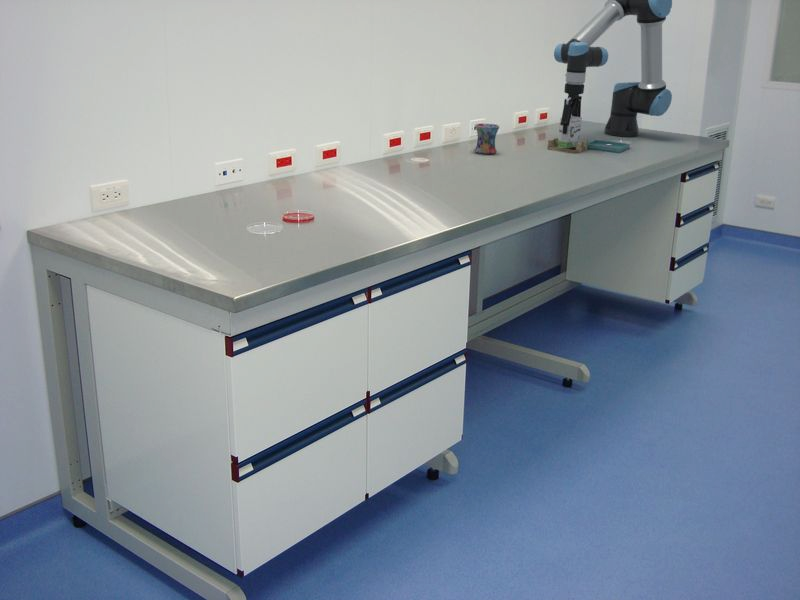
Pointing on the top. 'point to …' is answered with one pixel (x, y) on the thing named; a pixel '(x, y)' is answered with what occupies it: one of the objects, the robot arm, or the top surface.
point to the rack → (579, 148)
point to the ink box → (571, 133)
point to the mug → (486, 138)
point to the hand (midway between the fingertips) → (568, 140)
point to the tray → (607, 146)
